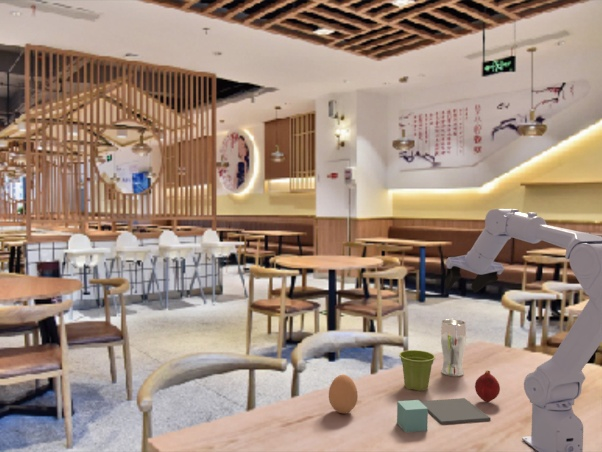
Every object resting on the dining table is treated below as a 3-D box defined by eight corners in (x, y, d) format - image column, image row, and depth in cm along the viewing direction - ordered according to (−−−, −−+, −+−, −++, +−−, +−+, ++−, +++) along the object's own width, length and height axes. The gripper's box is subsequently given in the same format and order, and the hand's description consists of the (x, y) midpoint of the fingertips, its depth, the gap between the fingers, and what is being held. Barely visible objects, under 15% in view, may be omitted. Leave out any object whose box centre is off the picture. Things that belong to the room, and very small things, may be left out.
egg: (323, 409, 125) (324, 372, 124) (349, 405, 127) (349, 369, 127) (335, 420, 118) (336, 381, 118) (362, 416, 121) (362, 378, 120)
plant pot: (442, 390, 138) (442, 357, 138) (413, 395, 134) (413, 362, 133) (419, 379, 146) (420, 348, 146) (391, 384, 142) (392, 352, 142)
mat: (490, 420, 119) (490, 417, 119) (441, 424, 117) (441, 421, 117) (464, 400, 131) (464, 398, 131) (419, 403, 129) (419, 401, 129)
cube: (427, 431, 114) (427, 408, 113) (405, 432, 113) (406, 409, 112) (417, 421, 118) (418, 399, 118) (397, 423, 117) (397, 401, 117)
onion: (501, 407, 126) (502, 375, 126) (476, 405, 128) (477, 373, 127) (497, 398, 132) (498, 367, 132) (473, 397, 133) (474, 366, 133)
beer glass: (435, 371, 153) (436, 320, 153) (453, 368, 156) (454, 318, 156) (451, 378, 147) (452, 325, 146) (470, 375, 150) (471, 323, 149)
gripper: (505, 242, 128) (480, 279, 137) (452, 235, 125) (429, 273, 133) (517, 262, 123) (489, 300, 131) (461, 256, 119) (437, 294, 128)
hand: (460, 288), depth 132 cm, fingers open, 7 cm apart
